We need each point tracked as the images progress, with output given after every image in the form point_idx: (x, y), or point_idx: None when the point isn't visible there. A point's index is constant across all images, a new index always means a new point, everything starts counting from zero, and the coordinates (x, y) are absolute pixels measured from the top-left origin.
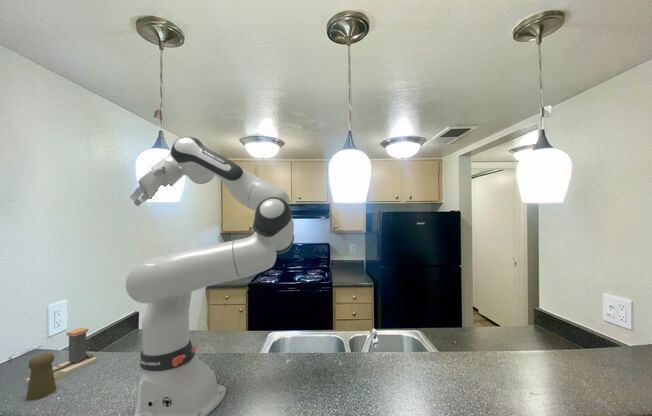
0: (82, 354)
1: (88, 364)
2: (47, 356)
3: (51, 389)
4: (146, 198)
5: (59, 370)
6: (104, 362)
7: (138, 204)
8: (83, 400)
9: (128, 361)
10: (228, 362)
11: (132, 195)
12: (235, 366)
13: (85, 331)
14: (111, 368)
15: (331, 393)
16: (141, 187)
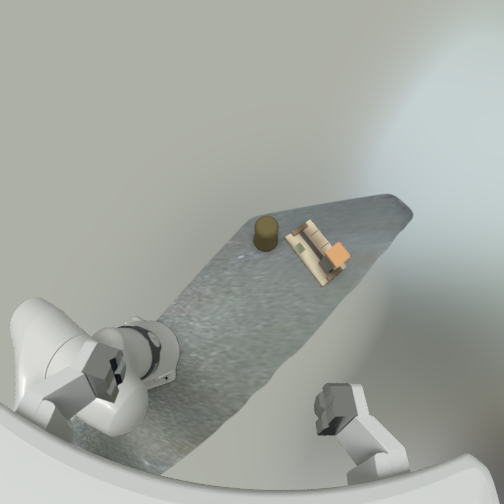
0: (324, 268)
1: (315, 277)
2: (259, 231)
3: (258, 247)
4: (349, 477)
5: (310, 248)
6: (309, 295)
7: (316, 409)
8: (213, 279)
9: (288, 323)
10: (186, 422)
11: (83, 356)
12: (170, 423)
13: (333, 265)
14: (281, 304)
15: (80, 442)
16: (25, 417)
